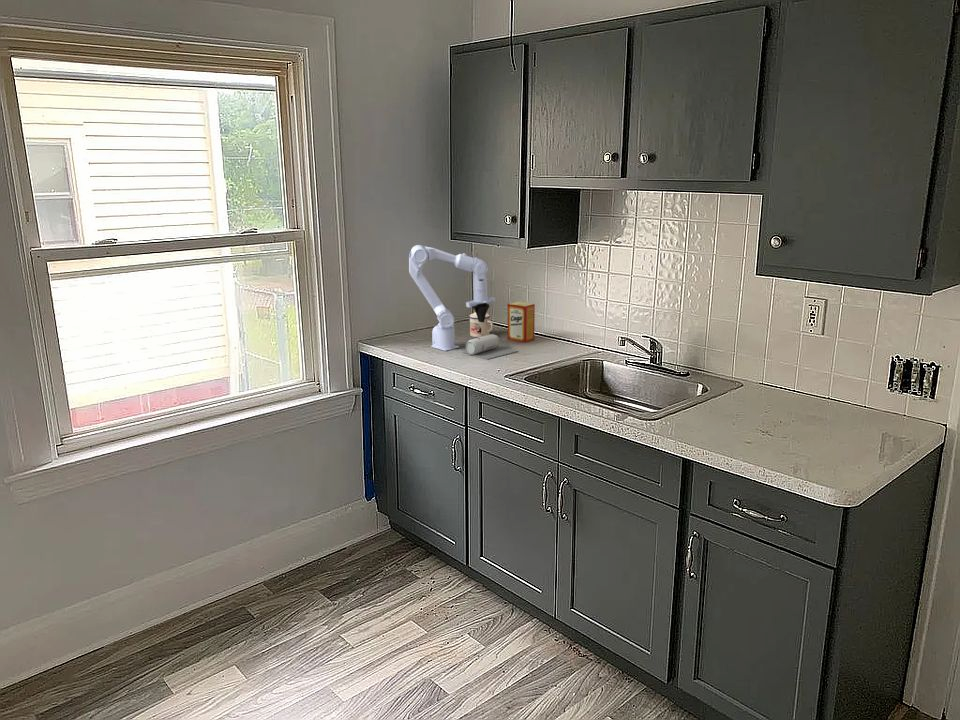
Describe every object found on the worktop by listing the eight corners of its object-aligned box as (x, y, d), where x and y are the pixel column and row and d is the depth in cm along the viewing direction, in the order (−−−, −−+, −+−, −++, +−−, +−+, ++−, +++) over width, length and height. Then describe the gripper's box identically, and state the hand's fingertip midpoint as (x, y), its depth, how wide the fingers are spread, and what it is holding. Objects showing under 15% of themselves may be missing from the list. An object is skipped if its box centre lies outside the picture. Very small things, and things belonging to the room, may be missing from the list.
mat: (462, 352, 300) (462, 351, 300) (492, 345, 311) (492, 344, 311) (487, 359, 289) (487, 358, 289) (518, 351, 300) (518, 350, 300)
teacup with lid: (465, 335, 328) (464, 309, 325) (478, 331, 335) (478, 306, 332) (486, 339, 321) (486, 313, 318) (499, 335, 327) (499, 309, 324)
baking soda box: (507, 339, 321) (507, 303, 316) (516, 336, 326) (516, 300, 321) (525, 342, 315) (525, 305, 311) (534, 339, 320) (534, 303, 315)
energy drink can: (478, 350, 292) (503, 342, 302) (470, 337, 293) (495, 330, 303) (469, 357, 296) (495, 350, 306) (462, 345, 297) (487, 338, 308)
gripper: (473, 293, 296) (474, 326, 300) (499, 287, 305) (500, 320, 309) (462, 291, 301) (463, 323, 305) (488, 286, 310) (489, 317, 314)
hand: (481, 321), depth 307 cm, fingers closed
